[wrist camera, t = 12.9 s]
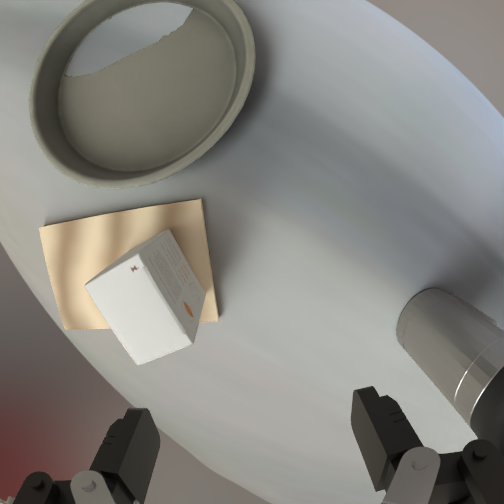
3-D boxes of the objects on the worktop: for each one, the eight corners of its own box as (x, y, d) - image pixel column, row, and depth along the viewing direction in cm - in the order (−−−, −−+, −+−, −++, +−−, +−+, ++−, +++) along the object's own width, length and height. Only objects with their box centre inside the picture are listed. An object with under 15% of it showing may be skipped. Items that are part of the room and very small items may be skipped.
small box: (126, 251, 31) (80, 283, 20) (170, 226, 30) (137, 250, 20) (164, 315, 32) (136, 368, 22) (208, 294, 32) (194, 345, 22)
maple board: (201, 198, 31) (200, 199, 30) (219, 317, 34) (218, 320, 33) (43, 226, 30) (38, 227, 30) (68, 326, 34) (65, 329, 33)
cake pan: (293, 33, 27) (301, 15, 23) (183, 227, 32) (174, 234, 27) (118, -23, 24) (106, -40, 19) (21, 141, 28) (-1, 139, 24)
